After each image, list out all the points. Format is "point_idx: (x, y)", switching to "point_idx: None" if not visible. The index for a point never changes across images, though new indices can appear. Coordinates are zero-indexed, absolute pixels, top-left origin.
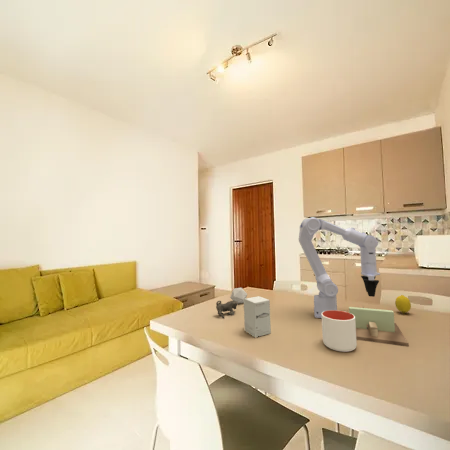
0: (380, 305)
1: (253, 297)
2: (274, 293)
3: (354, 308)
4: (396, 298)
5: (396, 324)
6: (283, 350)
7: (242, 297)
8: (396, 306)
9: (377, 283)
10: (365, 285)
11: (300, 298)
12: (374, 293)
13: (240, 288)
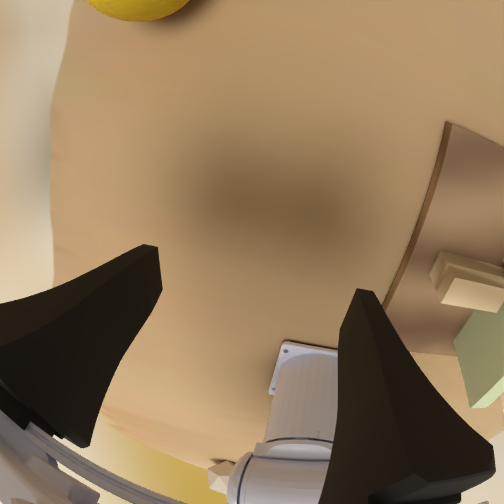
0: (64, 101)
1: None
2: (114, 406)
3: (497, 394)
4: (110, 5)
5: (474, 134)
6: (495, 422)
7: None
8: (160, 17)
9: (478, 438)
10: (127, 345)
11: (122, 378)
12: (386, 319)
13: (219, 490)
